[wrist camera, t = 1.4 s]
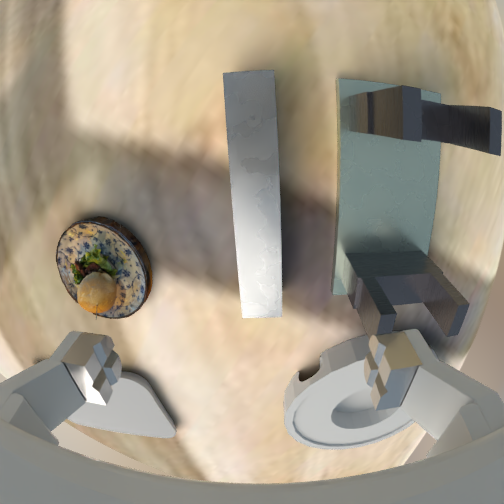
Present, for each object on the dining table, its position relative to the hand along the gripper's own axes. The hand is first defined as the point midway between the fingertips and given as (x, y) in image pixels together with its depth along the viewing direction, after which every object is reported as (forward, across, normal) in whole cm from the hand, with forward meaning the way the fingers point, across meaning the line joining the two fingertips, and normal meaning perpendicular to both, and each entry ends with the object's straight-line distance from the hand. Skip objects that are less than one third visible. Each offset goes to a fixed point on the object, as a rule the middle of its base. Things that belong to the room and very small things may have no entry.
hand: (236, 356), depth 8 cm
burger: (+20, +17, +6) cm, 26 cm away
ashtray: (+20, -14, +27) cm, 37 cm away
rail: (+19, 0, -1) cm, 19 cm away
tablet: (+20, +28, +31) cm, 46 cm away
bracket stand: (+19, -12, -1) cm, 22 cm away
